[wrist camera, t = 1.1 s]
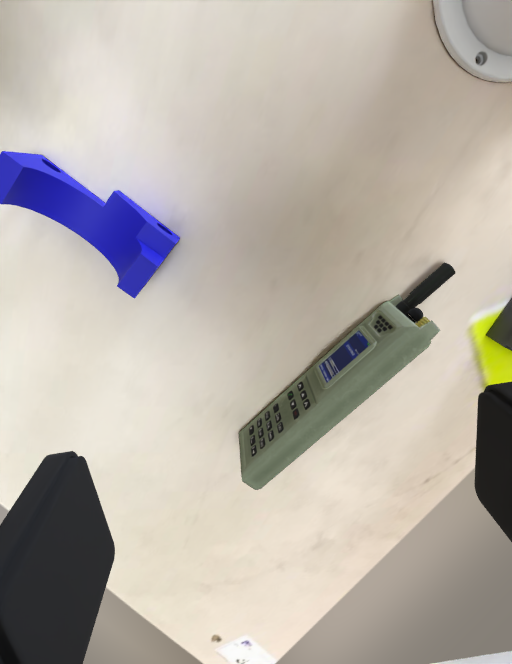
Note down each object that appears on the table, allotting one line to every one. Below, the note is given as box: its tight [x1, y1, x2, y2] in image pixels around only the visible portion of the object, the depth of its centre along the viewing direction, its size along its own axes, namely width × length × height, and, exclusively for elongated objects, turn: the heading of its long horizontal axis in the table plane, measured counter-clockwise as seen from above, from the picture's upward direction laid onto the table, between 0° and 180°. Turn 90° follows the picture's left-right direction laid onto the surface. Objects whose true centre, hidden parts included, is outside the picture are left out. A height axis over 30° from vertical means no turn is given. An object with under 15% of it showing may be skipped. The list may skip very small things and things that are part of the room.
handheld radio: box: [239, 263, 455, 490], centre depth 37 cm, size 7×3×25 cm
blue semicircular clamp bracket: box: [0, 151, 180, 298], centre depth 32 cm, size 12×4×6 cm, turn 51°
